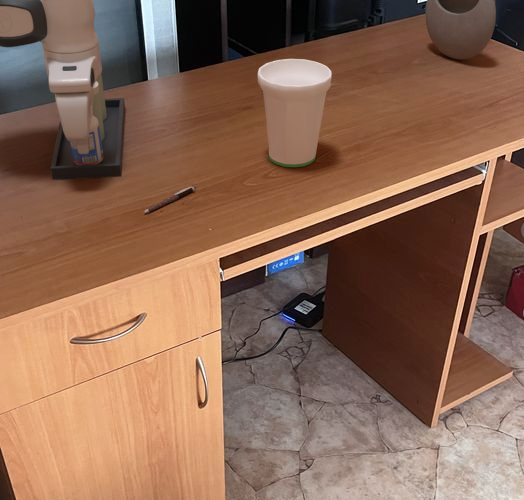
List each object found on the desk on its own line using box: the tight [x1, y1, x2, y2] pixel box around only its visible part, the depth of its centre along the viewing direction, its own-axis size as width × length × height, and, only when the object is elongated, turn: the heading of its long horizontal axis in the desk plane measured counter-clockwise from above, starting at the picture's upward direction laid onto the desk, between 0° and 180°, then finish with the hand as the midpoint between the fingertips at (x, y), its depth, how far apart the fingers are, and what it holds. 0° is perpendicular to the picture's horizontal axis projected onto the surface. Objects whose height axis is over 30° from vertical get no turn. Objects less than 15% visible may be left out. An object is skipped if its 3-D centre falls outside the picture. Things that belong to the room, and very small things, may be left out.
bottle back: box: [96, 73, 107, 120], centre depth 148 cm, size 5×5×10 cm
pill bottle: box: [69, 106, 104, 165], centre depth 135 cm, size 6×5×10 cm
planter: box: [425, 0, 497, 61], centre depth 172 cm, size 18×7×19 cm, turn 39°
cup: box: [257, 58, 333, 168], centre depth 136 cm, size 12×12×15 cm
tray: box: [49, 97, 126, 180], centre depth 144 cm, size 12×29×2 cm, turn 6°
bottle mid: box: [92, 81, 105, 141], centre depth 141 cm, size 5×5×10 cm
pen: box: [143, 185, 197, 214], centre depth 128 cm, size 11×1×1 cm, turn 136°
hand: (85, 142), depth 136 cm, fingers open, 6 cm apart
